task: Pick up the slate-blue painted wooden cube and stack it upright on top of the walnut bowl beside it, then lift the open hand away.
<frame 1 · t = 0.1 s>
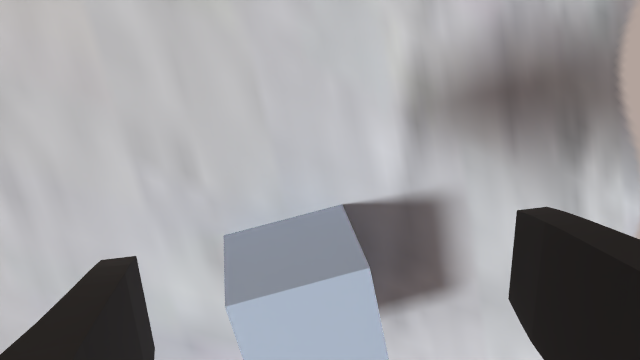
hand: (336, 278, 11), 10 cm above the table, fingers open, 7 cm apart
blue cube: (296, 268, 23), on the table
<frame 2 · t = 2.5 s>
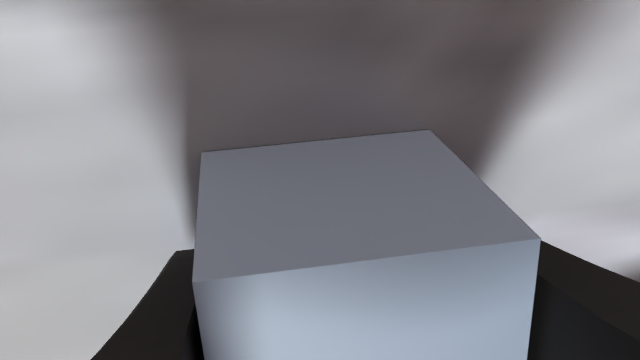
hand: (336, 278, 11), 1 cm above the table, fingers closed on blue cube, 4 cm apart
blue cube: (323, 241, 12), on the table, touching gripper
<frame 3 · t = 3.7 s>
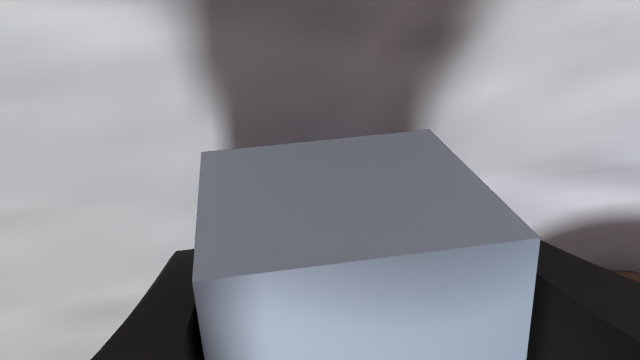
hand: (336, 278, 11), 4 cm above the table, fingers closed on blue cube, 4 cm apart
blue cube: (323, 241, 12), point 2 cm above the table, touching gripper
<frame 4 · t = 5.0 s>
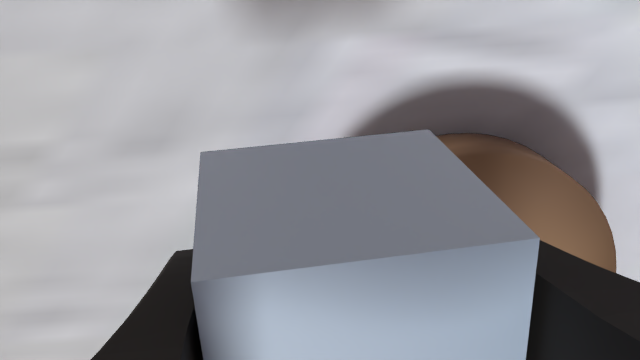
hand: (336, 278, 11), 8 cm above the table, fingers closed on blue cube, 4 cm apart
walnut bowl: (443, 275, 22), on the table
blue cube: (322, 241, 12), point 7 cm above the table, touching gripper
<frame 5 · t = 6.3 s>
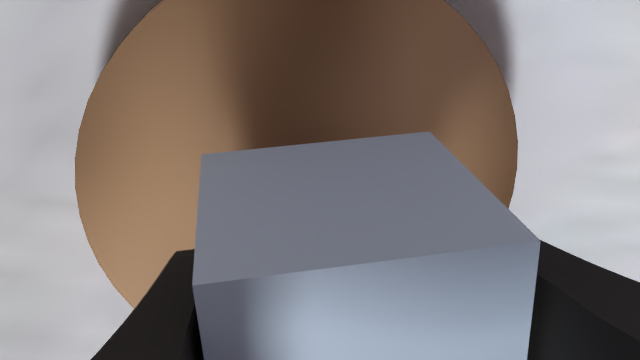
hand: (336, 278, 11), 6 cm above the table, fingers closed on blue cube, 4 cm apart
walnut bowl: (298, 161, 17), on the table
blue cube: (323, 243, 12), point 5 cm above the table, touching gripper
when the fingers open (4 cm above the table, at t = 7.5 s): blue cube stays where it is, resting on walnut bowl.
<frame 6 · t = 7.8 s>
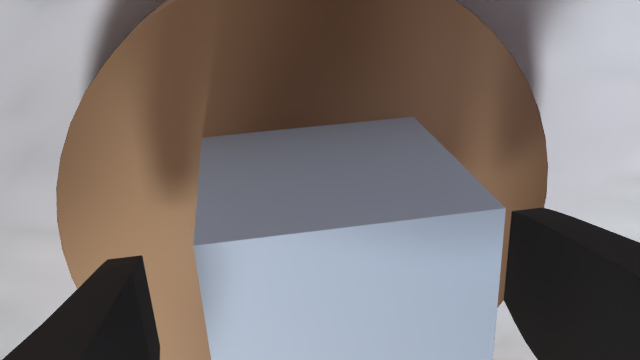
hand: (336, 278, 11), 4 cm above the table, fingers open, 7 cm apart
walnut bowl: (304, 184, 15), on the table
blue cube: (315, 221, 13), point 2 cm above the table, touching walnut bowl
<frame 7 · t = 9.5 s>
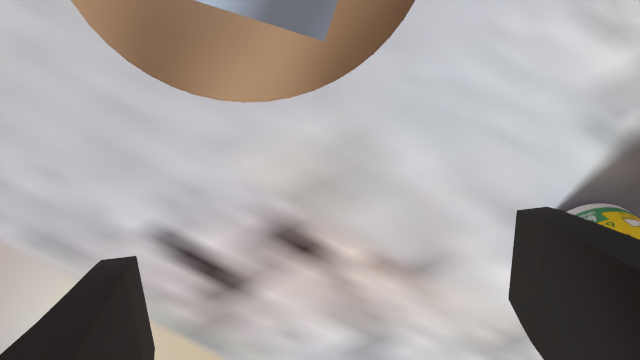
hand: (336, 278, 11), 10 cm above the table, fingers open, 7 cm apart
supplement bottle: (577, 253, 25), on the table
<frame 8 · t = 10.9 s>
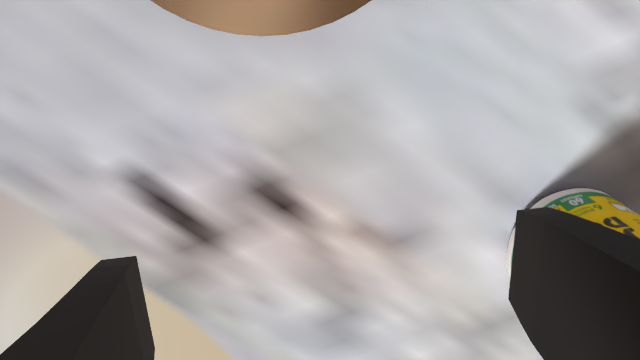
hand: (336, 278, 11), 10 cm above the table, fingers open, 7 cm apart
supplement bottle: (560, 239, 25), on the table
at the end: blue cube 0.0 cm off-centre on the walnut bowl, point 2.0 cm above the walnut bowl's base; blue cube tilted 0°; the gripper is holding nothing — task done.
